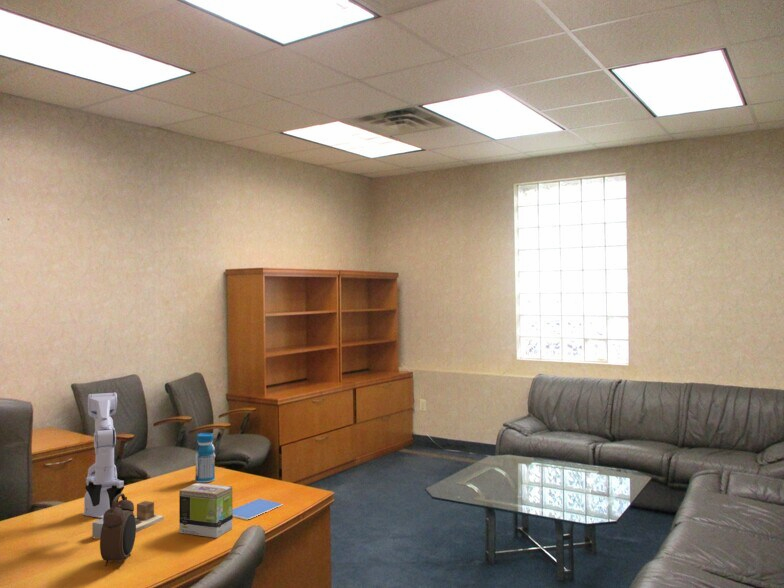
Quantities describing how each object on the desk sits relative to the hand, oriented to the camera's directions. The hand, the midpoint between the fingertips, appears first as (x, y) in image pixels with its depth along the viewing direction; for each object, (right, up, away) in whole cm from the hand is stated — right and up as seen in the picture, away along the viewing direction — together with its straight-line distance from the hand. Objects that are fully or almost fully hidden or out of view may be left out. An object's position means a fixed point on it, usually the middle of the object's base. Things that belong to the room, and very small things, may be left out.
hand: (104, 506), depth 208 cm
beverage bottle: (+15, -10, +62) cm, 65 cm away
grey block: (-1, -10, -1) cm, 10 cm away
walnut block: (+8, -8, +13) cm, 18 cm away
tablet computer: (+44, -11, +25) cm, 52 cm away
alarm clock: (+14, -10, -21) cm, 27 cm away
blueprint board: (+7, -10, +10) cm, 16 cm away
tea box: (+33, -10, +4) cm, 34 cm away
